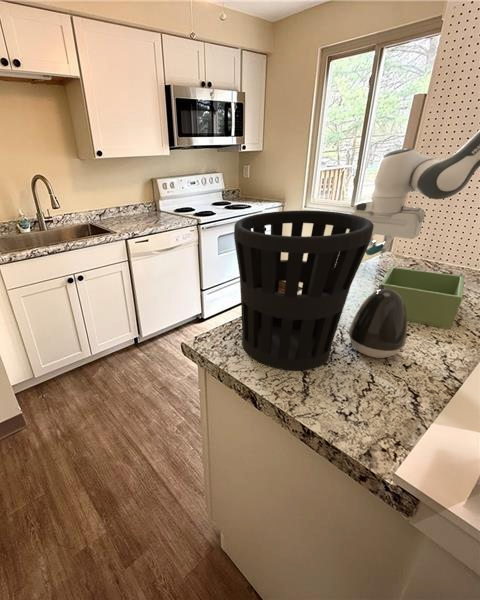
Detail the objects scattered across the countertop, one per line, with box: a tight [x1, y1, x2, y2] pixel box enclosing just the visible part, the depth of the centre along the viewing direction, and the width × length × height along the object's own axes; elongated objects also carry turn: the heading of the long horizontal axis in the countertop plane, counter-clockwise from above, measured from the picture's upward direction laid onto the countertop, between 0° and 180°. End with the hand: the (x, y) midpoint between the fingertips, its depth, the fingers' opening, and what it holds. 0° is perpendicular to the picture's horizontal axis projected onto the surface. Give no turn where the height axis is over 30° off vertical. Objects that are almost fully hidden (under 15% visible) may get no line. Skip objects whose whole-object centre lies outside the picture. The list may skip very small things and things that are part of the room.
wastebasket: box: [233, 210, 374, 372], centre depth 69 cm, size 25×25×30 cm
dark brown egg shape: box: [348, 283, 408, 359], centre depth 67 cm, size 10×10×15 cm
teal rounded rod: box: [365, 243, 389, 256], centre depth 105 cm, size 11×2×2 cm
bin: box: [379, 266, 466, 330], centre depth 83 cm, size 16×16×9 cm
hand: (377, 247), depth 105 cm, fingers closed on teal rounded rod, 2 cm apart
